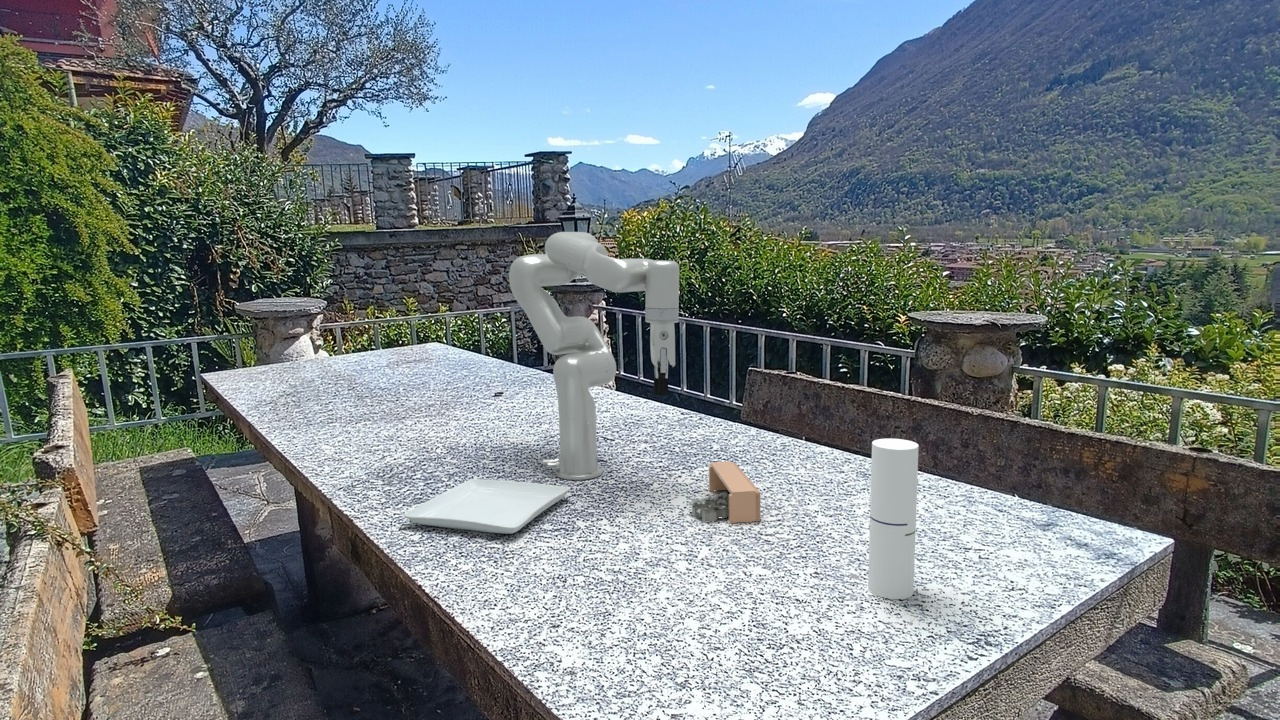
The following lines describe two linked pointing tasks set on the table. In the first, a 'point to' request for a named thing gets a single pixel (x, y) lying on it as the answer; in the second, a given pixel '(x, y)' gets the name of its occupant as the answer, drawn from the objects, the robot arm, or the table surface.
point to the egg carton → (711, 507)
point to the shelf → (736, 491)
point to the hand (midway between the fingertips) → (660, 394)
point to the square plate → (488, 505)
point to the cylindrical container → (893, 518)
